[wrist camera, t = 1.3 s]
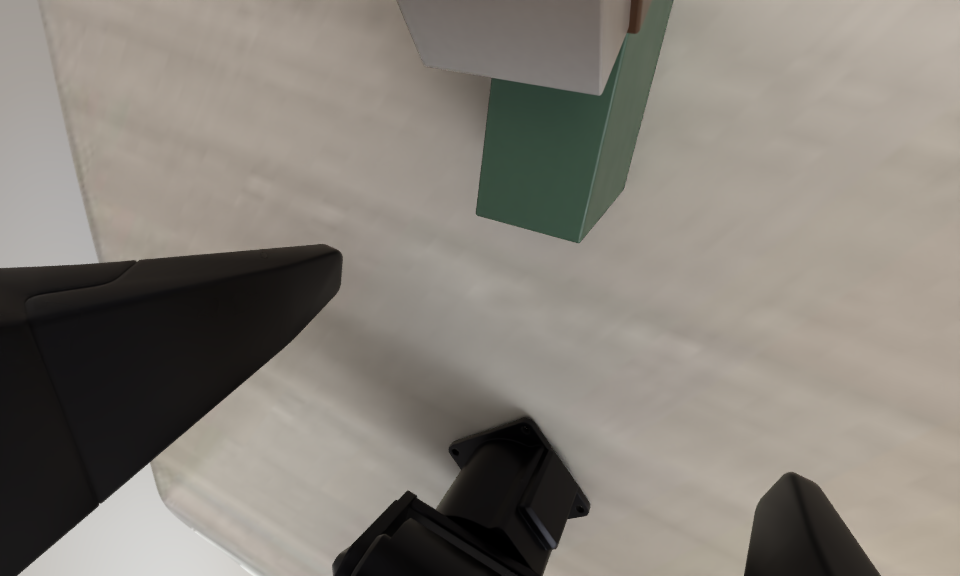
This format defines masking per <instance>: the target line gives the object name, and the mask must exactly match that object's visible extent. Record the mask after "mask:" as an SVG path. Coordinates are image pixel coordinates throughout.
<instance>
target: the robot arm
mask: <svg viewBox="0 0 960 576" xmlns="http://www.w3.org/2000/svg"><path fill="white" fill-rule="evenodd" d="M342 262H343V256H342V254H341V252H340V251H339V250H336V249H334V248H332V247H330V246H328V245H326V244H318V245H306V246H295V247H283V248H272V249H260V250H249V251H237V252H226V253H214V254H202V255H191V256H179V257H168V258H156V259H145V260H139V261H138V262H137V261H135V260H132V261H121V262H108V263H96V264H83V265H82V264H81V265H62V266H43V267H18V268H0V576H17V575H18V574H20V573H21V572H22V571H23V570H24V569H25V568H27V567H28V566H29V565H30V564H31V563H32V562H34V561H35V560H36V559H37V558H38V557H39V556H41V555H42V554H43V553H44V552H45V551H47V550H48V549H49V548H50V547H51V546H52V545H54V544H55V543H56V542H57V541H58V540H59V539H61V538H62V537H63V536H64V535H65V534H67V533H68V531H70V530H71V529H72V528H74V527H75V526H76V525H77V524H78V523H79V522H81V521H82V520H83V519H84V518H85V517H86V516H88V515H89V514H90V513H91V512H92V511H93V510H95V509H96V508H97V507H98V506H99V503H102V502H104V501H105V500H106V499H107V498H108V497H110V496H111V495H112V494H113V493H114V492H115V491H117V490H118V489H119V488H120V487H121V486H122V485H124V484H125V483H126V482H127V481H128V480H130V478H132V477H133V476H134V475H135V474H137V473H138V472H139V471H140V470H141V469H142V468H144V467H145V466H146V465H147V464H148V463H149V462H151V461H152V460H153V459H154V458H155V457H157V456H158V455H159V454H160V453H161V452H162V451H164V450H165V449H166V448H167V447H168V446H169V445H171V444H172V443H173V442H174V441H175V440H176V439H178V438H179V437H180V436H181V435H182V434H184V433H185V432H186V431H187V430H188V429H189V428H191V427H192V426H193V425H194V424H195V423H196V422H198V421H199V420H200V419H201V418H202V417H203V416H205V415H206V414H207V413H208V412H209V411H211V410H212V409H213V408H214V407H215V406H216V405H218V404H219V403H220V402H221V401H222V400H223V399H225V398H226V397H227V396H228V395H229V394H230V393H232V392H233V391H234V390H235V389H236V388H238V387H239V386H240V385H241V384H242V383H243V382H245V381H246V380H247V379H248V378H249V377H250V376H252V375H253V374H254V373H255V372H256V371H257V370H259V369H260V368H261V367H262V366H263V365H265V364H266V363H267V362H268V361H269V360H270V359H272V358H273V357H274V356H275V355H276V354H277V353H279V352H280V351H281V350H282V349H283V348H284V347H285V346H287V345H288V344H289V343H290V342H291V341H292V340H293V339H294V338H295V337H296V336H297V335H298V334H299V333H300V332H301V331H302V330H303V329H304V328H305V327H306V326H307V325H308V324H309V322H310V321H311V320H312V319H313V318H314V317H315V316H316V315H317V314H318V313H319V312H320V311H321V310H322V309H323V308H324V307H325V306H326V305H327V304H328V302H329V301H330V300H331V299H332V298H333V297H334V296H335V295H336V294H337V292H338V291H339V289H340V285H341V276H342ZM525 426H526V427H528V428H529V429H527V428H525ZM449 453H450V455H451V456H452V457H453V459H454V460H455V462H456V463H457V464H458V466H459V467H460V469H461V471H460V473H459V474H458V476H457V477H456V479H455V480H454V482H453V484H452V485H451V487H450V488H449V490H448V491H447V493H446V494H445V496H444V497H443V499H442V500H441V502H440V503H439V505H438V506H437V508H436V510H435V509H434V508H432V507H431V506H429V505H427V504H426V503H424V502H423V501H421V500H419V499H418V498H417V496H416V495H415V494H413V493H412V492H410V491H406V492H405V494H404V495H403V496H402V497H401V498H400V499H399V500H398V501H397V500H395V501H394V502H393V503H392V504H391V505H390V506H389V507H388V508H387V509H386V510H385V511H384V512H383V513H382V514H381V515H380V516H379V517H378V518H377V519H376V521H375V522H374V523H373V524H372V525H371V526H370V527H369V528H368V529H367V530H366V531H365V532H364V533H363V534H362V535H361V536H360V537H359V538H358V539H357V540H356V541H355V542H354V543H353V544H352V545H351V546H350V547H348V548H347V549H346V550H344V551H343V552H341V553H340V554H339V555H338V556H337V558H336V559H335V561H334V563H333V565H332V570H333V576H543V573H544V570H545V568H546V565H547V562H548V559H549V557H550V554H551V551H552V550H553V549H556V548H557V547H558V544H559V541H560V538H561V535H562V532H563V530H564V527H565V524H566V521H567V519H571V518H577V517H583V516H586V515H588V513H589V510H590V503H589V501H588V500H587V498H586V497H585V495H584V494H583V493H582V491H581V490H580V488H579V487H578V485H577V484H576V482H575V481H574V479H573V478H572V476H571V475H570V473H569V472H568V470H567V469H566V467H565V466H564V465H563V463H562V462H561V460H560V459H559V457H558V456H557V454H556V453H555V451H554V450H553V448H552V447H551V445H550V444H549V442H548V441H547V440H546V438H545V437H544V435H543V434H542V432H541V431H540V429H539V428H538V426H537V425H536V423H535V422H534V421H533V420H531V419H529V418H522V419H519V420H516V421H513V422H510V423H508V424H505V425H502V426H499V427H496V428H493V429H490V430H487V431H484V432H481V433H478V434H475V435H472V436H469V437H466V438H463V439H460V440H457V441H454V442H453V443H452V444H451V445H450V447H449ZM580 506H582V507H580ZM744 576H881V575H880V574H879V572H878V571H877V570H876V568H875V567H874V565H873V564H872V562H871V561H870V559H869V558H868V556H867V555H866V554H865V552H864V551H863V549H862V548H861V546H860V545H859V543H858V542H857V540H856V539H855V538H854V536H853V535H852V533H851V532H850V530H849V529H848V527H847V526H846V525H845V523H844V522H843V520H842V519H841V517H840V516H839V514H838V513H837V511H836V510H835V509H834V507H833V506H832V504H831V503H830V501H829V500H828V498H827V497H826V495H825V494H824V493H823V491H822V490H821V488H820V487H819V486H818V485H817V484H816V483H814V482H813V481H810V480H808V479H806V478H804V477H802V476H800V475H798V474H796V473H794V472H788V473H786V474H784V475H783V476H782V477H781V478H780V479H779V480H778V481H777V482H776V483H775V484H774V485H773V486H772V487H771V489H770V490H769V491H768V492H767V493H766V494H765V495H764V496H763V497H762V498H761V499H760V501H759V503H758V505H757V507H756V510H755V515H754V521H753V527H752V532H751V538H750V544H749V550H748V555H747V561H746V567H745V573H744Z"/></svg>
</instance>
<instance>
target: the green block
mask: <svg viewBox="0 0 960 576" xmlns="http://www.w3.org/2000/svg"><path fill="white" fill-rule="evenodd" d="M672 4H673V0H652V2H651V4H650V7H649V9H648V12H647V14H646V17H645V19H644V22H643V24H642V27H641V29H640V31H639V32H638V33H637V34H630V33H626V36H625V38H624V41H623V43H622V45H621V48H620V50H619V53H618V55H617V58H616V60H615V63H614V65H613V68H612V70H611V73H610V75H609V78H608V80H607V83H606V85H605V88H604V90H603V93H602V94H601V95H600V96H597V95H591V94H585V93H579V92H573V91H567V90H561V89H555V88H550V87H544V86H538V85H532V84H526V83H520V82H514V81H508V80H502V79H496V78H492V80H491V89H490V97H489V106H488V114H487V123H486V131H485V140H484V148H483V156H482V165H481V173H480V182H479V190H478V199H477V207H476V215H477V216H481V217H484V218H488V219H492V220H495V221H499V222H503V223H506V224H510V225H514V226H517V227H521V228H524V229H528V230H532V231H535V232H539V233H543V234H546V235H550V236H554V237H557V238H561V239H565V240H568V241H572V242H576V243H580V242H581V241H582V240H583V238H584V237H585V236H586V235H587V233H588V232H589V231H590V230H591V229H592V227H593V226H594V225H595V224H596V222H597V221H598V220H599V219H600V218H601V216H602V215H603V214H604V213H605V211H606V210H607V209H608V208H609V207H610V205H611V204H612V203H613V202H614V201H615V199H616V198H617V197H618V196H619V194H620V193H621V192H622V191H623V189H624V186H625V182H626V178H627V174H628V170H629V167H630V163H631V159H632V155H633V152H634V148H635V144H636V140H637V136H638V133H639V129H640V125H641V121H642V117H643V114H644V110H645V106H646V102H647V98H648V95H649V91H650V87H651V83H652V80H653V76H654V72H655V68H656V64H657V61H658V57H659V53H660V49H661V45H662V42H663V38H664V34H665V30H666V26H667V23H668V19H669V15H670V11H671V8H672Z"/></svg>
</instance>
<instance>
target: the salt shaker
mask: <svg viewBox="0 0 960 576" xmlns="http://www.w3.org/2000/svg"><path fill="white" fill-rule="evenodd" d="M651 2H652V0H397V3H398V5H399V7H400V10H401V12H402V15H403V17H404V19H405V22H406V24H407V26H408V29H409V31H410V34H411V36H412V38H413V41H414V43H415V45H416V48H417V50H418V53H419V55H420V57H421V60H422V62H423V65H424V66H426V67H431V68H437V69H443V70H449V71H455V72H461V73H467V74H473V75H479V76H484V77H490V78H496V79H502V80H508V81H514V82H520V83H526V84H532V85H538V86H544V87H550V88H555V89H561V90H567V91H573V92H579V93H585V94H591V95H597V96H600V95H601V94H602V93H603V90H604V88H605V85H606V83H607V80H608V78H609V75H610V73H611V70H612V68H613V65H614V63H615V60H616V58H617V55H618V53H619V50H620V48H621V45H622V43H623V41H624V38H625V36H626V33H630V34H637V33H638V32H639V31H640V29H641V27H642V24H643V22H644V19H645V17H646V14H647V12H648V9H649V7H650V4H651Z"/></svg>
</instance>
